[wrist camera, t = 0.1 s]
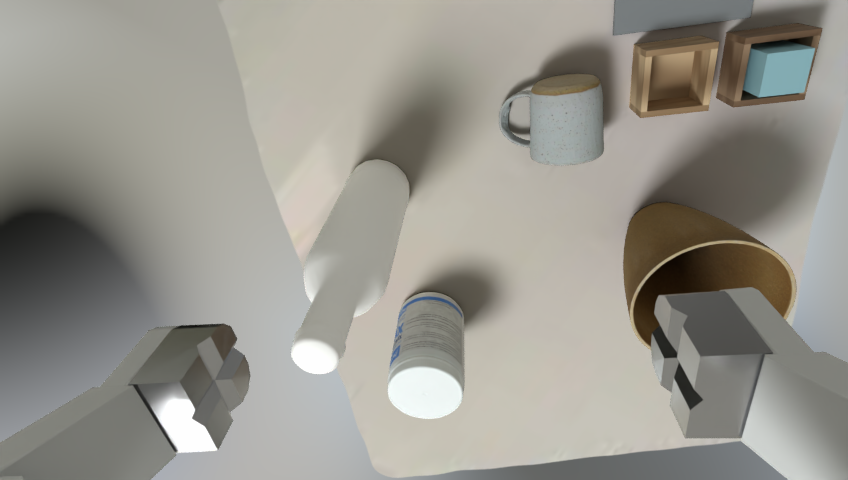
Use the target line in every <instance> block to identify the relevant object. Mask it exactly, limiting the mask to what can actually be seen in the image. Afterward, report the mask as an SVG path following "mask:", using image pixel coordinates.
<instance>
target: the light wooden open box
mask: <svg viewBox="0 0 848 480" xmlns="http://www.w3.org/2000/svg"><path fill="white" fill-rule="evenodd" d="M718 46H719V42H718V41H715V40H713V39H710V38H707V37H704V36H695V37H687V38H680V39H672V40H664V41H656V42H649V43H641V44H634V50H633V63H632V77H631V90H630V104H629V108H630V109H631V110H632V111H634V112H635V113H636V114H637V115H638V116H639V117H640V118H644V117H653V116H663V115H672V114H681V113H690V112H700V111H708V109H709V103H710V96H711V90H712V84H713V77H714V71H715V65H716V59H717V52H718Z"/></svg>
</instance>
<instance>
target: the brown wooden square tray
mask: <svg viewBox="0 0 848 480" xmlns="http://www.w3.org/2000/svg"><path fill="white" fill-rule="evenodd" d="M821 32H822V28H818V27H814V26H809V25H804V24H799V23H796V24H788V25H781V26H773V27H765V28H757V29H750V30H742V31H734V32H727V33H726V39H725V46H724V52H723V58H722V64H721V70H720V76H719V82H718V88H717V95H716V98H717V99H719V100H721V101H723V102H724V103H726V104H728V105H730V106H731V107H741V106H750V105H759V104H769V103H778V102H787V101H796V100H804V99H805V95H806V91H807V87H808V83H809V79H810V75H811V71H812V67H813V63H814V59H815V56H816V52H817V48H818V44H819V40H820V36H821ZM778 40H786V41H790V42H794V43H798V44H802V45H805V46H809V47H813V48H815V51H814V55H813V59H812V63H811V67H810V71H809V75H808V79H807V83H806V87H805V91H804V92H803V93H794V94H785V95H776V96H767V97H757V96H755V95H753V94H751V93H749V92H747V91H744V90H743V85H744V80H745V75H746V69H747V64H748V59H749V53H750V48H751V44H754V43H762V42H770V41H778Z"/></svg>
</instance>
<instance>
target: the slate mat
mask: <svg viewBox="0 0 848 480" xmlns="http://www.w3.org/2000/svg"><path fill="white" fill-rule="evenodd" d="M752 6H753V0H615V2H614V21H613V35H622V34H630V33H637V32H645V31H652V30H660V29H667V28H675V27H683V26H690V25H698V24H705V23H713V22H721V21H728V20H736V19H743V18H750V17H751V11H752Z"/></svg>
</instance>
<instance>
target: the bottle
mask: <svg viewBox="0 0 848 480" xmlns="http://www.w3.org/2000/svg"><path fill="white" fill-rule="evenodd" d="M409 194H410V191H409V182H408V180H407V178H406V175H405V174H404V173H403V172H402V170H401V169H400V168H399V167H398V166H396V165H394V164H392V163H391V162H389V161H385V160H379V159H375V160H369V161H365V162H364V163H362V164H360V165H358V166H357V167H356V168H355V170H354V171H353V172H352V173H351V175H350V176H349V178H348V179H347V181H346V183H345V186H344V188H343V190H342V192H341V194H340V196H339V198H338V199H337V201H336V203H335V205H334V207H333V209H332V211H331V213H330V214H329V216H328V218H327V220H326V222H325V224H324V226H323V227H322V229H321V231H320V233H319V235H318V237H317V239H316V241H315V242H314V244H313V246H312V248H311V250H310V252H309V254H308V255H307V258H306V262H305V265H304V284H305V290H306V294H307V296H308V297H309V299H310V301H311V302H312V303H311V306H310V308H309V310H308V312H307V315H306V317H305V319H304V321H303V323H302V326H301V327H300V329H299V330H298V331H297V332H296V334H295V337H294V340H293V346H292V349H291V356H292V359H293V360H294V362H295V363H296V365H298V366H299V367H300V368H301V369H303V370H305V371H307V372H309V373H314V374H324V373H328V372H331V371H333V370H334V369H335V368H336V367H337V366H338V364H339V361H340V359H341V358H342V357H343V354H344V352H345V349H346V344H345V342H346V339H347V336H348V332H349V329H350V326H351V323H352V320H353V317H357V316H359V315H362V314H364V313H366V312H367V311H368V310H369V309H370V308H371V307H372V306H373V305H374V304H375V303H376V302H377V301H378V300H379V299H380V298H381V297H382V296H383V294H384V292H385V289H386V287H387V284H388V280H389V276H390V272H391V268H392V264H393V260H394V256H395V252H396V247H397V243H398V239H399V235H400V231H401V227H402V223H403V219H404V215H405V211H406V208H407V205H408V202H409Z"/></svg>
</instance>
